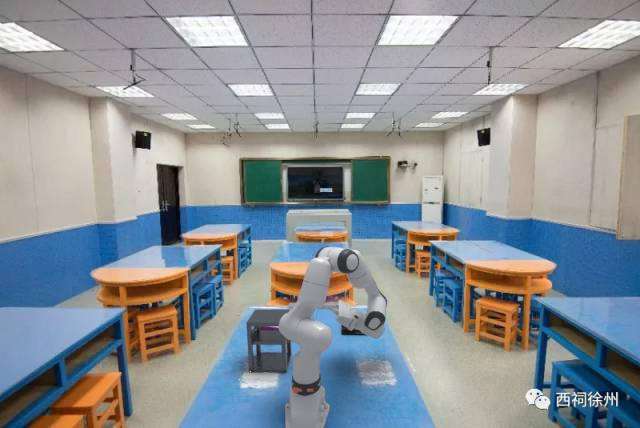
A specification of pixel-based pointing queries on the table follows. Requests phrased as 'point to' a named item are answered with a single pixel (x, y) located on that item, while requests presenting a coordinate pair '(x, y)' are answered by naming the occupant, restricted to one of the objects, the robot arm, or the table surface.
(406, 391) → the table surface
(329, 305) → the strip
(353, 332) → the portable cd player
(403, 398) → the table surface
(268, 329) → the mounting bracket
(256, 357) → the rack
